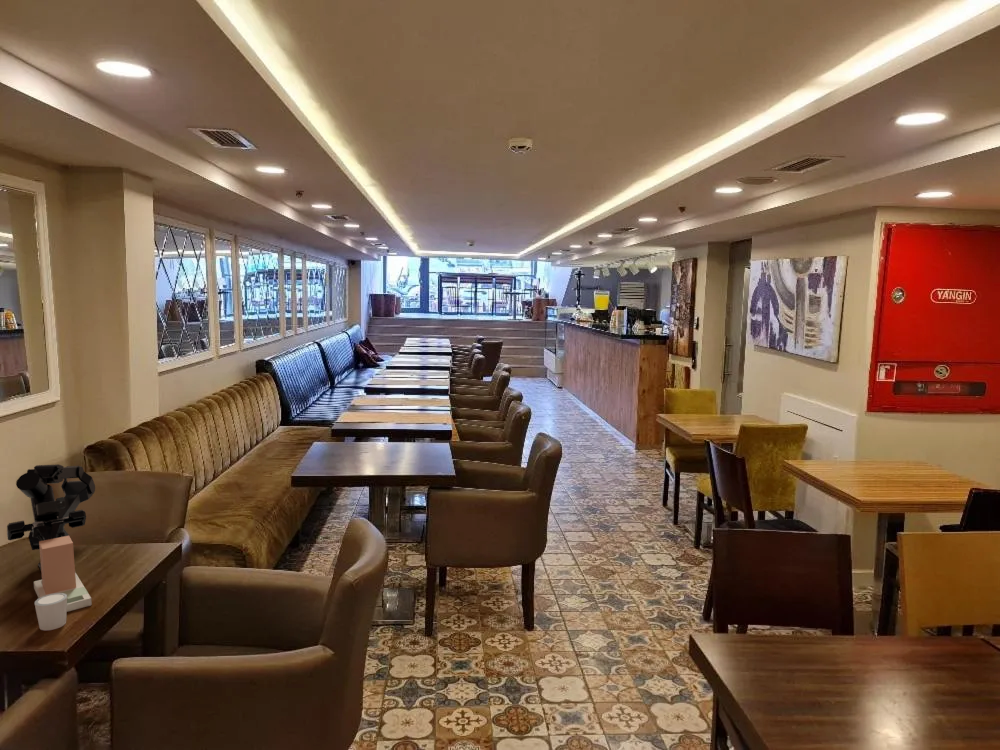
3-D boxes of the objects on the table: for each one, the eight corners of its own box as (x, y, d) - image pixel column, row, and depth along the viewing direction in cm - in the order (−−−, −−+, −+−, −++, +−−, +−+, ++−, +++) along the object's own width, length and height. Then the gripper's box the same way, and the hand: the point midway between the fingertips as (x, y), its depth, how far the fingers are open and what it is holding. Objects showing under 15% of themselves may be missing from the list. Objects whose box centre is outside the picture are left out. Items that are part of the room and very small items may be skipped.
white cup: (56, 632, 160) (54, 605, 159) (29, 631, 160) (27, 604, 160) (75, 618, 167) (73, 592, 166) (49, 617, 167) (47, 592, 166)
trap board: (34, 588, 183) (33, 581, 183) (75, 578, 190) (74, 571, 190) (47, 617, 167) (46, 609, 167) (91, 604, 174) (91, 597, 174)
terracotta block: (42, 585, 181) (39, 541, 179) (72, 578, 185) (68, 535, 183) (45, 594, 175) (42, 549, 174) (76, 587, 180) (73, 542, 178)
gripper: (4, 496, 180) (12, 546, 173) (82, 483, 192) (92, 529, 186) (4, 515, 187) (11, 564, 180) (79, 501, 199) (89, 547, 192)
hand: (52, 550), depth 184 cm, fingers closed
